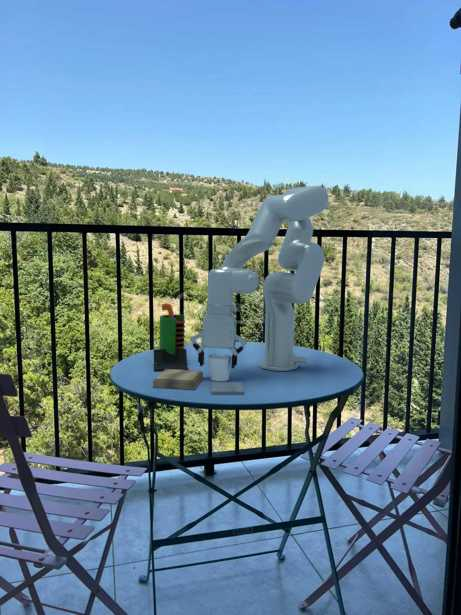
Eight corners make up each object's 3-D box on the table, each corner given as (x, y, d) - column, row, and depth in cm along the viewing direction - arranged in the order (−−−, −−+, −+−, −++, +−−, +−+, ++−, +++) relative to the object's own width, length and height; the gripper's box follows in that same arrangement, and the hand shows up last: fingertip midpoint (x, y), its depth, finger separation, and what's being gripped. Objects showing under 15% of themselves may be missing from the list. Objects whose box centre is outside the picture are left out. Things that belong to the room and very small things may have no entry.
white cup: (230, 381, 153) (231, 358, 152) (207, 381, 153) (207, 358, 153) (231, 375, 160) (231, 353, 159) (208, 375, 160) (209, 353, 159)
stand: (202, 378, 157) (202, 370, 156) (194, 389, 145) (194, 381, 144) (164, 376, 158) (164, 368, 158) (153, 387, 146) (153, 378, 146)
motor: (184, 365, 172) (184, 306, 170) (157, 365, 172) (157, 305, 169) (186, 358, 182) (186, 302, 180) (160, 358, 182) (160, 302, 180)
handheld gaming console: (155, 368, 161) (156, 340, 166) (151, 377, 167) (151, 350, 172) (191, 371, 165) (190, 343, 170) (185, 380, 171) (184, 353, 176)
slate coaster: (242, 385, 150) (242, 382, 150) (244, 394, 141) (244, 391, 141) (211, 384, 150) (211, 382, 150) (211, 394, 141) (211, 391, 141)
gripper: (249, 310, 156) (247, 365, 158) (194, 307, 159) (192, 361, 161) (247, 313, 149) (244, 371, 151) (188, 310, 151) (186, 367, 153)
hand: (217, 366), depth 156 cm, fingers open, 9 cm apart
